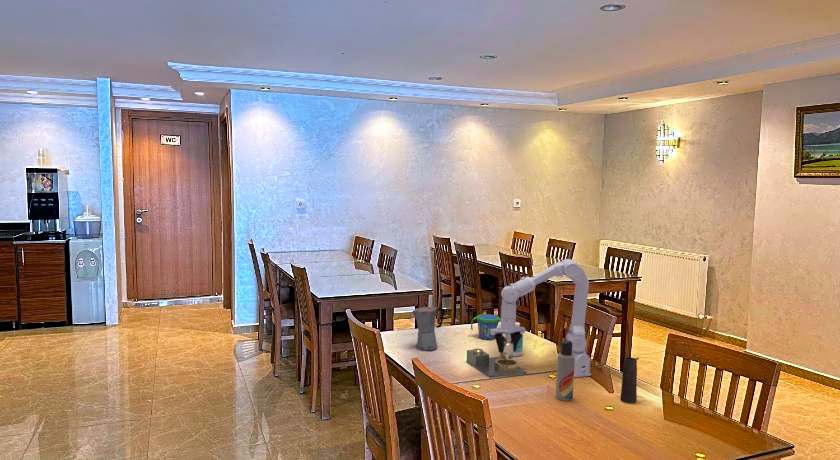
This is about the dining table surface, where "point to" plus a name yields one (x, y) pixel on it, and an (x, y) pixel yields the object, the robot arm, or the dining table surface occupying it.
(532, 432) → the dining table surface
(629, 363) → the butter churn
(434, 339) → the moka pot
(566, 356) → the lotion bottle
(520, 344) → the pill bottle
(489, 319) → the snack cup
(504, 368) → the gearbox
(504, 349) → the spout can
